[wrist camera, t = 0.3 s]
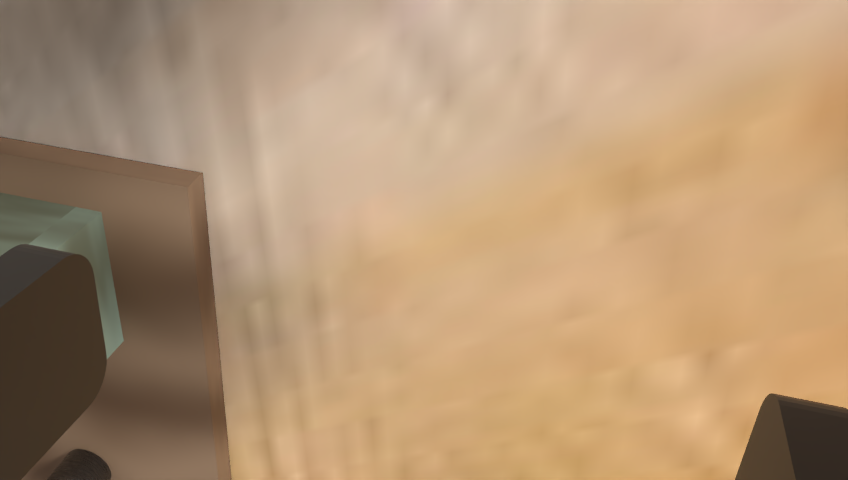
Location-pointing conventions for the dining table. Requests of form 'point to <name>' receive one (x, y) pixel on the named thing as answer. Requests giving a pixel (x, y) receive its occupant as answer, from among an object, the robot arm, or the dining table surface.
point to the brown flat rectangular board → (142, 314)
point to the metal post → (81, 467)
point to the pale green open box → (65, 246)
